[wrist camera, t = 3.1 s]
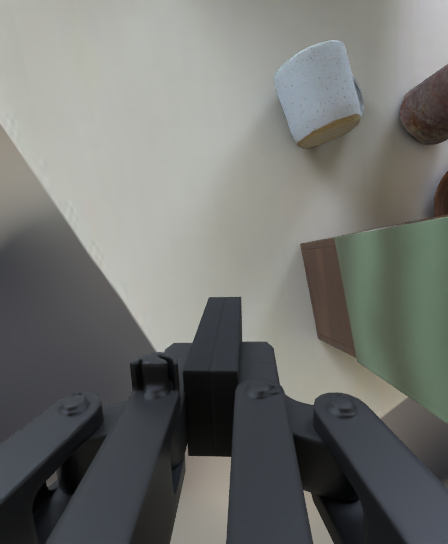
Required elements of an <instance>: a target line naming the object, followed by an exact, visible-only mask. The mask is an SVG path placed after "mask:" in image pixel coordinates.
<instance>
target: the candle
mask: <svg viewBox="0 0 448 544" xmlns="http://www.w3.org/2000/svg"><path fill="white" fill-rule="evenodd" d="M400 117H401V122H402V125H404V127H405V129H406V131H407V132H408V133H410V134H412V135H413V136H414V138H416V139H417V140H418V141H420V142H421V143H423V144H426V145H434V144H438V143H441V142H443V141H446V140H447V139H448V64H447V65H446V66H444V67H443V68H442V69H440V70H439V71H437V72H436V73H434V74H433V75H431V76H430V77H429V78H427V79H426V80H424V81H423V82H422V83H420V84H419V85H418V86H416V87H415V88H413V89H412V90H411V91H409V92H408V93H407V94H406V95H405V96H404V100H403V102H402V106H401V109H400Z"/></svg>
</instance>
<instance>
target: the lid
mask: <svg viewBox="0 0 448 544" xmlns="http://www.w3.org/2000/svg"><path fill="white" fill-rule="evenodd" d="M334 239H335V244H336V250H337V255H338V260H339V266H340V271H341V277H342V282H343V287H344V293H345V298H346V304H347V309H348V314H349V320H350V325H351V330H352V336H353V341H354V347H355V352H356V357H357V362H359V363H360V364H362V365H363V366H365V367H366V368H367V369H369V370H370V371H372V372H373V373H375V374H376V375H378V376H379V377H380V378H382V379H383V380H385V381H386V382H388V383H389V384H391V385H392V386H394V387H395V388H396V389H398V390H399V391H401V392H402V393H404V394H405V395H407V396H408V397H409V398H411V399H412V400H414V401H415V402H417V403H418V404H420V405H421V406H422V407H424V408H425V409H427V410H428V411H430V412H431V413H433V414H434V415H435V416H437V417H438V418H440V419H441V420H443V421H444V422H446V423H447V424H448V217H443V218H437V219H432V220H427V221H421V222H416V223H410V224H405V225H399V226H394V227H388V228H383V229H378V230H372V231H367V232H361V233H356V234H350V235H345V236H340V237H335V238H334Z"/></svg>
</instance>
